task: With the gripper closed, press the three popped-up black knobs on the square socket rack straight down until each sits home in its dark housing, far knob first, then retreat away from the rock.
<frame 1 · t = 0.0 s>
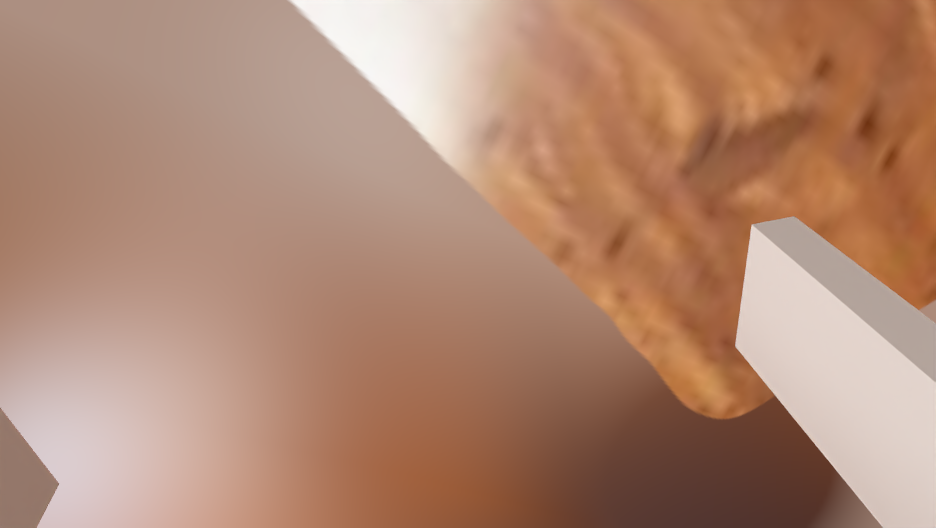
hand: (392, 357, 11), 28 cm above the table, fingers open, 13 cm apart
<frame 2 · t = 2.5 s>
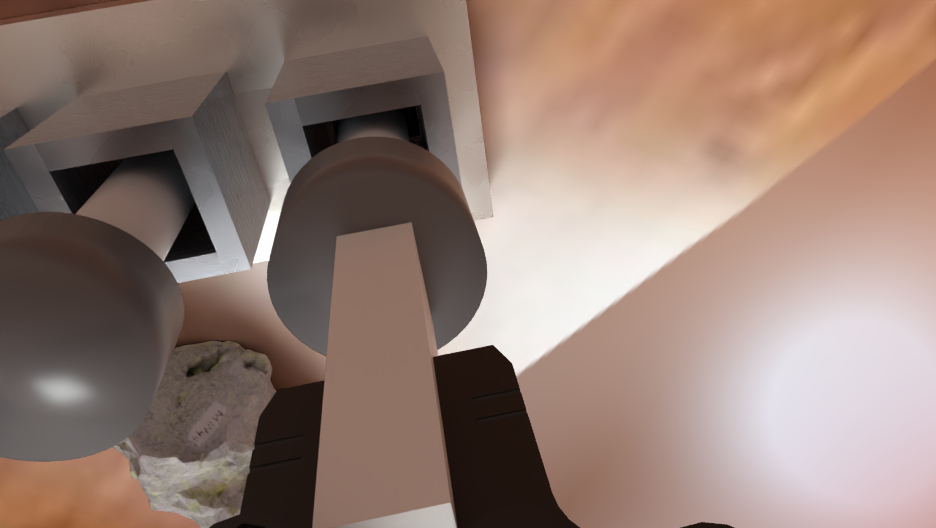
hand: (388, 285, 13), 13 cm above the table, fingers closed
square socket rack: (193, 134, 24), on the table
rock: (251, 414, 32), on the table
knob b: (110, 253, 16), point 9 cm above the table, slide at 0.0 cm
knob c: (375, 189, 17), point 8 cm above the table, slide at 0.9 cm, touching gripper
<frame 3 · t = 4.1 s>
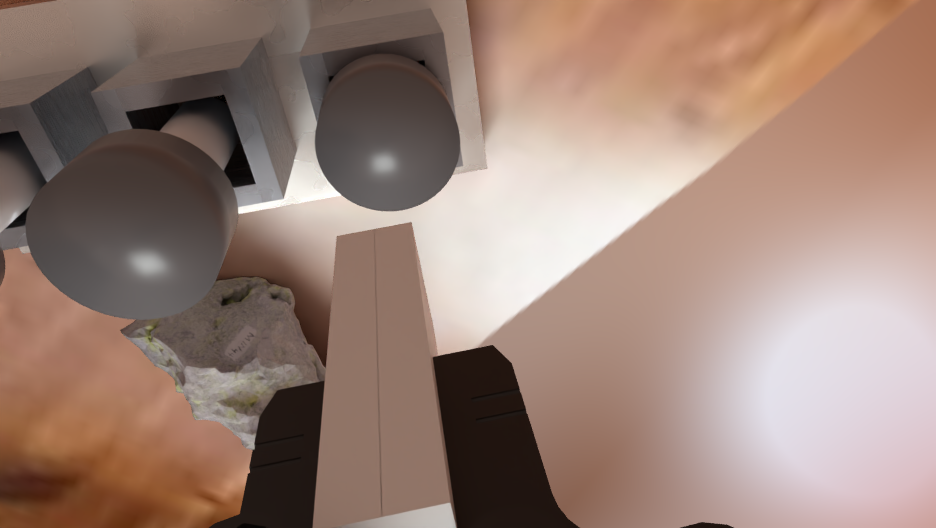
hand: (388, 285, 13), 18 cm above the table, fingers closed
square socket rack: (230, 94, 28), on the table
rock: (277, 347, 36), on the table
knob b: (176, 174, 20), point 9 cm above the table, slide at 0.0 cm
knob c: (385, 102, 23), point 5 cm above the table, slide at 3.9 cm
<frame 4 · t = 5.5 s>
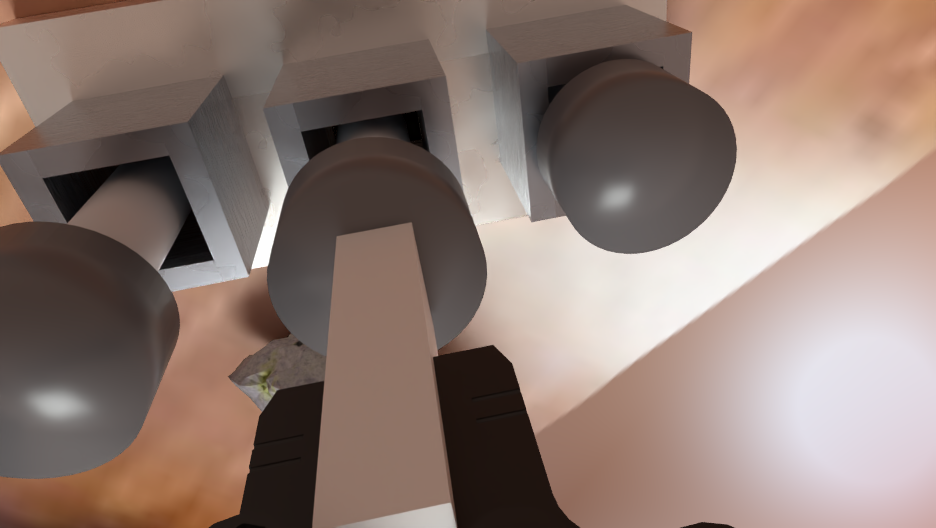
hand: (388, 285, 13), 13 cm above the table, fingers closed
square socket rack: (371, 105, 24), on the table
knob a: (104, 262, 15), point 9 cm above the table, slide at 0.0 cm
rock: (386, 387, 32), on the table
knob b: (375, 189, 17), point 8 cm above the table, slide at 1.4 cm, touching gripper
knob c: (589, 116, 19), point 5 cm above the table, slide at 3.9 cm
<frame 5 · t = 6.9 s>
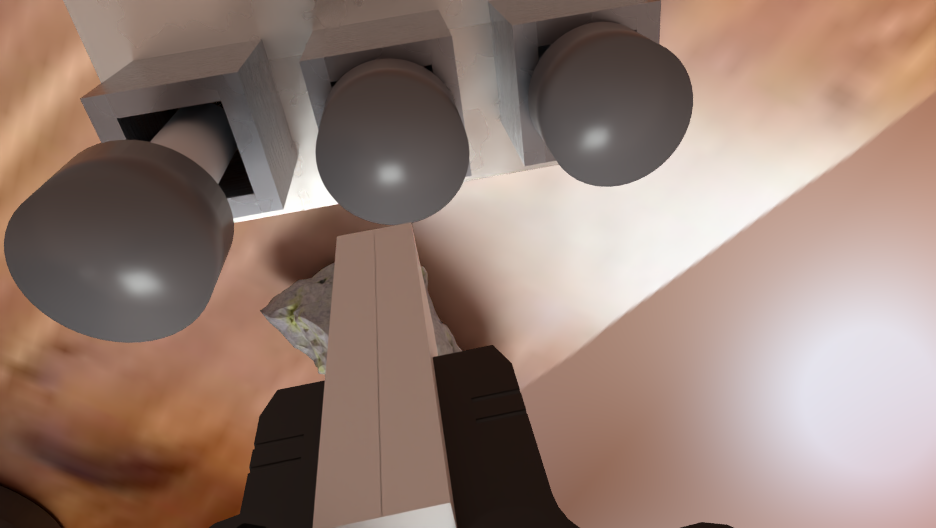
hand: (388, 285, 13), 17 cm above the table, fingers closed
square socket rack: (387, 70, 27), on the table
knob a: (169, 185, 19), point 9 cm above the table, slide at 0.0 cm
rock: (400, 329, 35), on the table
knob b: (390, 108, 22), point 5 cm above the table, slide at 3.9 cm
knob c: (576, 76, 23), point 5 cm above the table, slide at 3.9 cm
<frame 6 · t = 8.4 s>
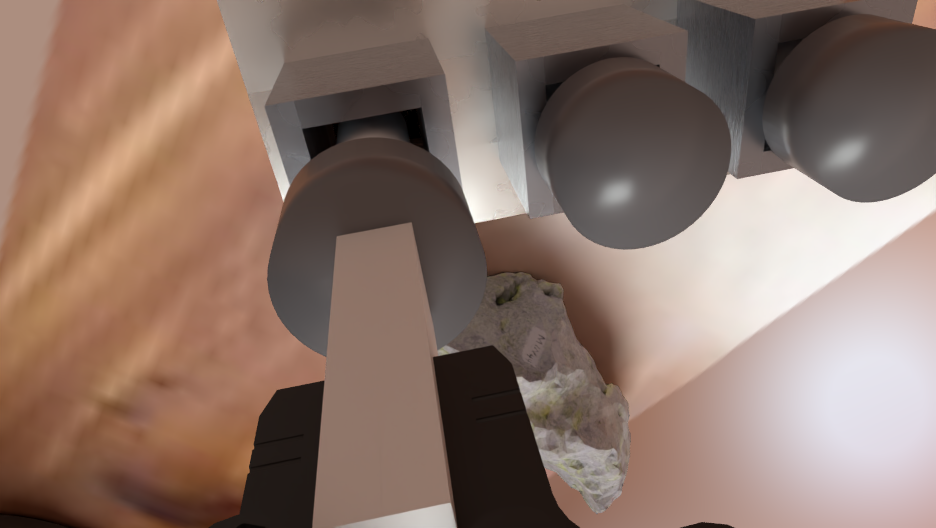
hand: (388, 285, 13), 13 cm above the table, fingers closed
square socket rack: (544, 73, 24), on the table
knob a: (375, 190, 17), point 8 cm above the table, slide at 1.1 cm, touching gripper
rock: (521, 351, 32), on the table
knob b: (587, 114, 20), point 5 cm above the table, slide at 3.9 cm
knob c: (791, 77, 20), point 5 cm above the table, slide at 3.9 cm
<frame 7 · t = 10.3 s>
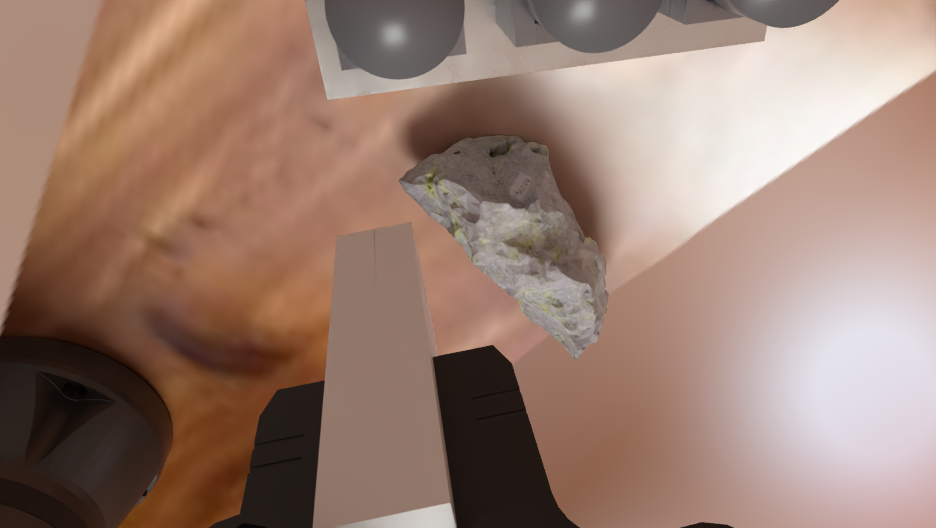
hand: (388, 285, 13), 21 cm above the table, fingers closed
rock: (513, 215, 37), on the table
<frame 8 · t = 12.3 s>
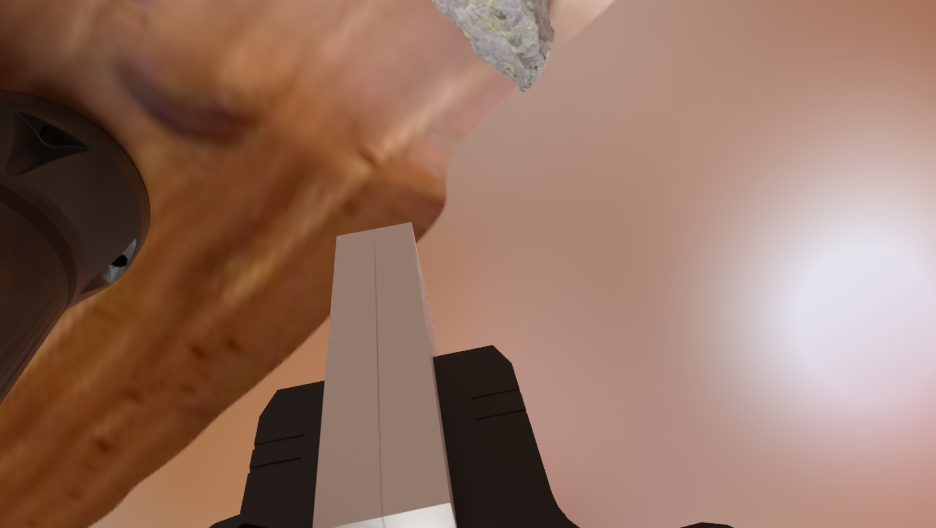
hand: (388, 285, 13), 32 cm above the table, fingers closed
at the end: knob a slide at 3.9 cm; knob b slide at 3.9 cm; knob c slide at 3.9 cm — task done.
